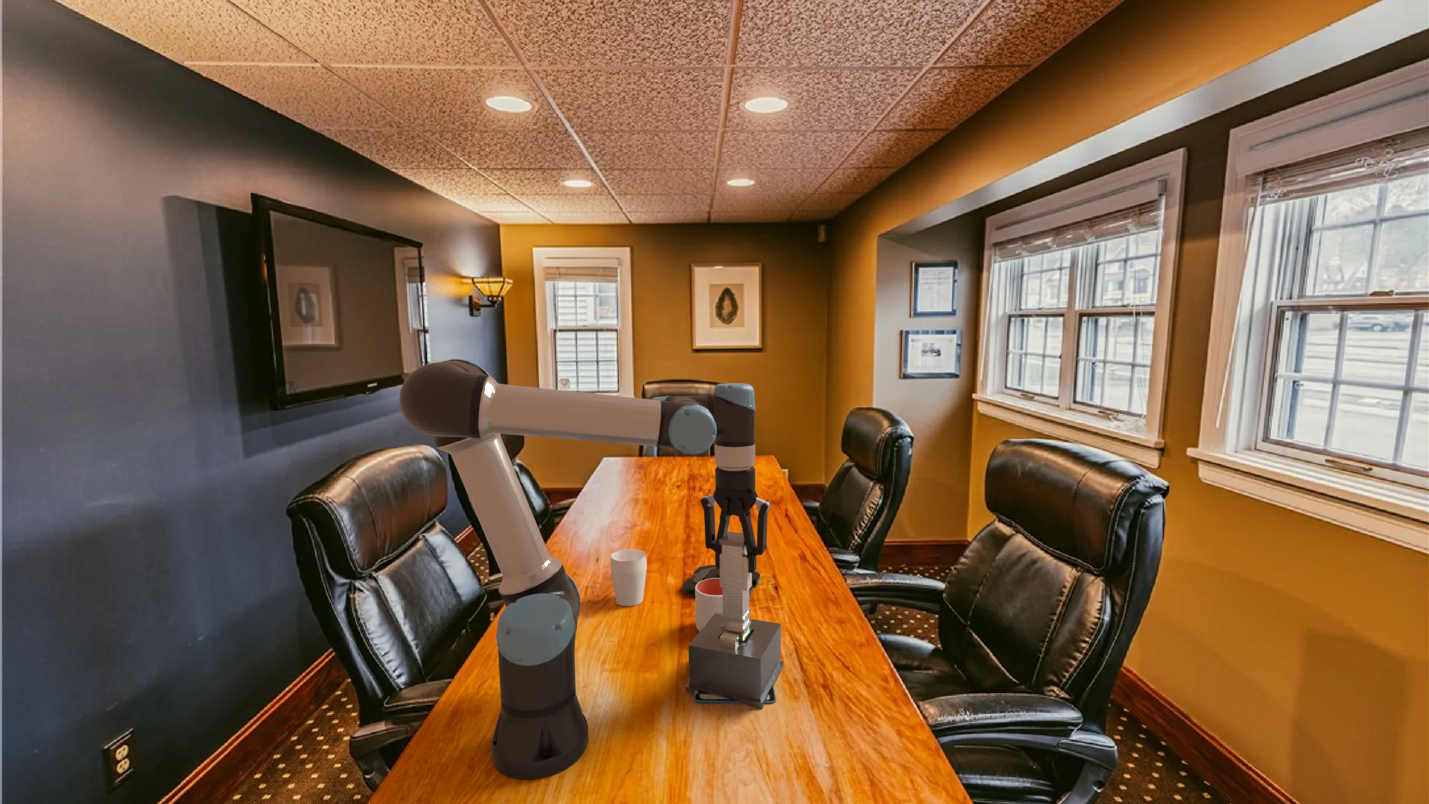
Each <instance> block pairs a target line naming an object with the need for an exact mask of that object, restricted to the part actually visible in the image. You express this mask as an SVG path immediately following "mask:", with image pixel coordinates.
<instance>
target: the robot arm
mask: <svg viewBox="0 0 1429 804" xmlns="http://www.w3.org/2000/svg"><path fill="white" fill-rule="evenodd" d="M713 389H714V391H713V393H712V394H709V395H707V394H706V395H666V396H655V397H652V398H651V399H650V398H640V397H639V398H638V397H631V396H630V397H629V396H621V395H609V394H599V393H591V392H581V391H570V390H562V389H552V388H542V387H533V386H522V385H513V384H503V383H499V382H498V381H496V379H495V378H494V377H493V376H491V375H490V373H489V372H488V371H487V370H486V369H485V368H483V367H482V366H481V365H479V364H477V363H474V362H472V361H470V360H466V359H461V358H456V359H455V358H451V359H448V360H442V361H439V362H438V361H436V362H431V363H428V364H424V365H421V366H419V367H417V368H416V369H415V370H413V371H412V372H410V373H409V375H407V377H406V378H405V380H404V382H403V383H402V384H401V387H400V391H399V398H398V399H399V408H400V411H401V414H402V415H403V417H404V418H405V420H406V422H407V423H408V424H409V425H410V426H412V428H414V429H415V430H416V431H418V432H420V433H422V434H424V435H427V436H432V438H433V441H434V443H435V446H436V448H437V449H438V450H439V451H442V452H446V453H448V454H449V455H450V456H451V458H452V461H453V463H454V465H455V467H456V469H457V472H458V474H459V477H460V480H461V482H462V484H463V486H464V488H465V491H466V493H467V496H468V498H469V501H470V502H471V506H472V507H473V511H475V514H476V517H477V519H478V521H479V524H480V525H481V528H482V531H483V533H484V535H485V538H486V541H487V542H488V545H489V548H490V549H491V551H492V554H493V556H494V558H495V562H496V563H497V566H498V568H499V570H500V572H501V573H500V574H501V575H502V580H501V583H500V585H499V587H498V592H499V594H500V597H501V599H502V601H503V603H504V606H505V608H504V609H503V610H502V612H501V613H500V615H499V617H498V620H497V628H496V634H495V635H496V636H495V638H496V645H497V655H498V657H497V658H498V669H499V671H498V672H499V691H500V711H499V715H498V717H497V721H496V725H495V728H494V731H493V732H494V733H493V736H492V739H491V744H490V745H491V761H492V764H493V766H494V767H495V769H496V770H497V771H499V773H501V774H503V775H505V776H507V777H510V778H513V779H519V780H534V779H541V778H545V777H549V776H552V775H554V774H558V773H560V772H561V771H564V770H565V769H568V768H569V767H570V766H572V765H573V764H574V763H576V762H577V761H578V760H579V759H580V758H581V757H582V756H583V755H584V753H585V751H586V749H587V748H588V744H589V738H590V737H589V724H588V721H587V719H586V716H585V715H584V712H583V711H582V710H583V709H582V706H581V704H580V702H579V699H578V696H577V685H576V684H577V683H576V680H577V679H576V662H575V661H576V660H575V659H576V658H575V656H576V655H575V654H576V653H575V652H576V650H575V649H576V648H575V647H576V640H577V639H576V638H577V629H578V619H579V615H580V611H581V603H582V602H581V595H580V594H581V593H580V591H579V589H578V585H577V584H576V581H575V580H574V579H573V578H572V576H571V575H569V574H568V573H567V571H566V569H565V567H564V564H563V562H562V560H561V559H560V558H557V557H555V556H551V555H550V553H549V551H548V549H547V546H546V543H545V541H544V539H543V537H542V534H541V532H540V529H539V527H538V524H537V522H536V519H535V517H534V514H533V512H532V509H531V508H530V505H529V502H528V500H527V497H526V495H525V493H524V490H523V488H522V486H521V483H520V480H519V478H518V476H517V473H516V470H515V468H514V466H513V463H512V461H511V459H510V455H509V454H508V452H507V448H506V446H505V444H504V442H503V439H502V436H501V435H502V434H503V435H513V436H514V435H515V436H526V437H538V438H548V439H549V438H550V439H564V440H573V441H574V440H575V441H586V442H599V443H609V444H610V443H613V444H622V445H632V446H633V445H635V446H643V447H644V446H645V447H656V448H664V449H673V450H674V449H676V450H677V451H679V452H681V453H684V454H688V455H698V454H701V453H704V452H705V451H707V450H708V449H710V447H711V446H712V445H713V444H714V464H715V465H716V467H715V469H714V481H715V484H714V486H715V490H714V491H713V494H710V495H709V494H707V495H705V496H704V497H702V498H701V499H700V505H701V507H702V509H703V520H704V522H703V523H704V540H705V541H704V543H705V544H704V545H705V548H706V549H708V550H709V549H710V550H712V551H714V555H715V556H714V558H715V559H714V562H715V563H714V565H715V566H716V568H718V569H720V587H722V545H720V544H719V539H720V538H721V537H724V536H725V535H726V534H727V532H729V525H730V521H731V517H732V516H736V517H738V520H739V523H740V525H741V530H742V533H743V536H744V540H746V550H747V554H746V555H745V556H744V557H743V559H744V591H748V590H749V589H750V587H751V586H753V585H752V573H754V572H755V571H756V572H757V564H758V563H757V556H763V555H764V552H766V550H767V543H768V542H767V541H768V540H767V539H768V538H767V537H768V514H769V511H770V509H771V506H772V502H771V501H770V500H764V499H761V498H759V495H758V493H757V492H756V468H755V467H754V465H755V464H756V411H757V408H756V400H755V399H756V398H755V388H754V387H753V386H752V384H748V383H743V382H741V383H739V382H729V383H728V382H726V383H718V384H716V385H715V386H714V388H713ZM715 504H717V506H718V507H719V508H720V515H719V524H718V528H717V533H716V517H715V516H716V515H715V513H716V512H715ZM754 505H755V506H756V511H757V512H758V513H757V526H756V527H757V529H756V530H757V531H756V538H755V532H754V527H753V523H752V511H751V509H752V508H753V507H754Z"/></svg>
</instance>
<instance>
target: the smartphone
mask: <svg viewBox="0 0 1429 804" xmlns="http://www.w3.org/2000/svg"><path fill="white" fill-rule="evenodd" d="M693 702H694V704H696V705H742V704H741V702H740V701H736V700H732V699H728V698H724V697H719V696H715V695H711V694H707V693H703V692H699V691H695V690H694V693H693ZM776 702H777V697H776V690H775V685H773V687H772V689H771V691H770V693H769V695H768V697H767V699H766V701H765V705H773V704H774V703H776Z"/></svg>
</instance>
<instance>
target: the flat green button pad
mask: <svg viewBox="0 0 1429 804" xmlns="http://www.w3.org/2000/svg"><path fill="white" fill-rule="evenodd" d="M692 573H693V575H692V577H688V578H687V579H686V580H684V582H682V590H683V591H684V592H685V593H687V594H688V595H693V596H695V586H696V585H697V584H698V583H699V582H701V581H703V580H706V579H711V578H720V569H718V568H716V566H715V564H708V565H701V566H698V567H697V568H696V569H695V570H694V571H693V572H692ZM760 581H761V573H759V572H758V571H757V570H756V571H755V572H754V573H752V586H751V587H750V589H749V598H750V596H752V594H753V592H754V589H753V588H754V586H757V585H758V584H759V582H760Z"/></svg>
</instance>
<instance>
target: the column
mask: <svg viewBox="0 0 1429 804" xmlns="http://www.w3.org/2000/svg"><path fill="white" fill-rule="evenodd" d="M719 544H720V545H722V590H723V614H722V615H721V620H723V624H722V625H721V630H723V633H730V634H736V635H739V642H740V643H745V644H746V642H747V641H748V639H749V635H750V634H751V629H749V625H750V624H751V619H752V618H750V615H751V614H752V609H751V608H750V597H749V590H748V591H744V559H743V557H744V556H745V555H746V554H747V550H746V540H744V536H743V532H737V531H736V532H735V531H728V532H727V534H726V535H725V536H724V537H721V538H720V539H719Z"/></svg>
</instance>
